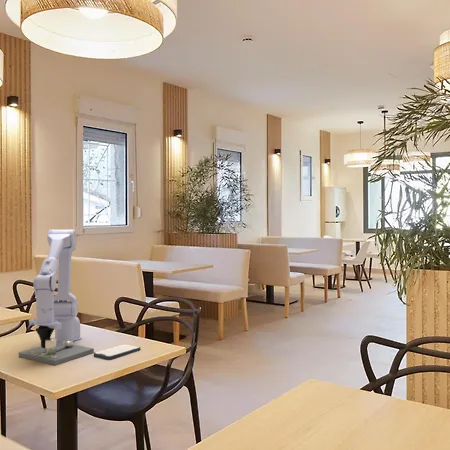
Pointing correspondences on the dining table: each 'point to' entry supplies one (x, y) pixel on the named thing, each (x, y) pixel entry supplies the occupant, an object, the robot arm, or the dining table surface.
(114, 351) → the phone case
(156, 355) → the dining table surface
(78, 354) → the dial board
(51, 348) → the lever
